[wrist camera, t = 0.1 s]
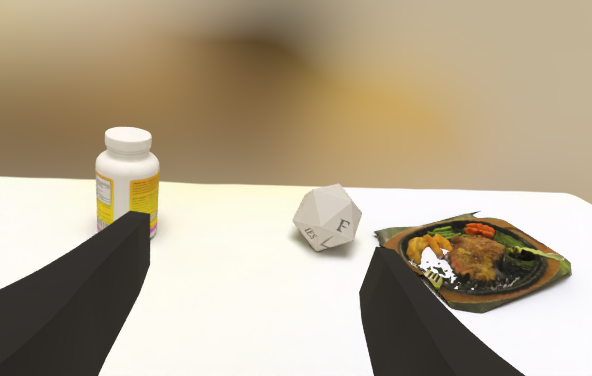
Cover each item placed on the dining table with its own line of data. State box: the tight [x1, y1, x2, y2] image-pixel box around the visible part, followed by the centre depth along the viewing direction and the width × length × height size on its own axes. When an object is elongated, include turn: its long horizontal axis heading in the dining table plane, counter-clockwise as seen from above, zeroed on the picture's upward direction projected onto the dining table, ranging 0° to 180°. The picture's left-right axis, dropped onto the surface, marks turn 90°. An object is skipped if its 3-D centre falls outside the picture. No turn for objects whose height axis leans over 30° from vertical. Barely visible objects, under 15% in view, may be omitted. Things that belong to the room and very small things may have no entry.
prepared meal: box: [374, 211, 572, 313], centre depth 59 cm, size 28×4×18 cm
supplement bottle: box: [96, 127, 159, 238], centre depth 45 cm, size 7×7×13 cm
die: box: [292, 184, 362, 251], centre depth 53 cm, size 8×9×10 cm
